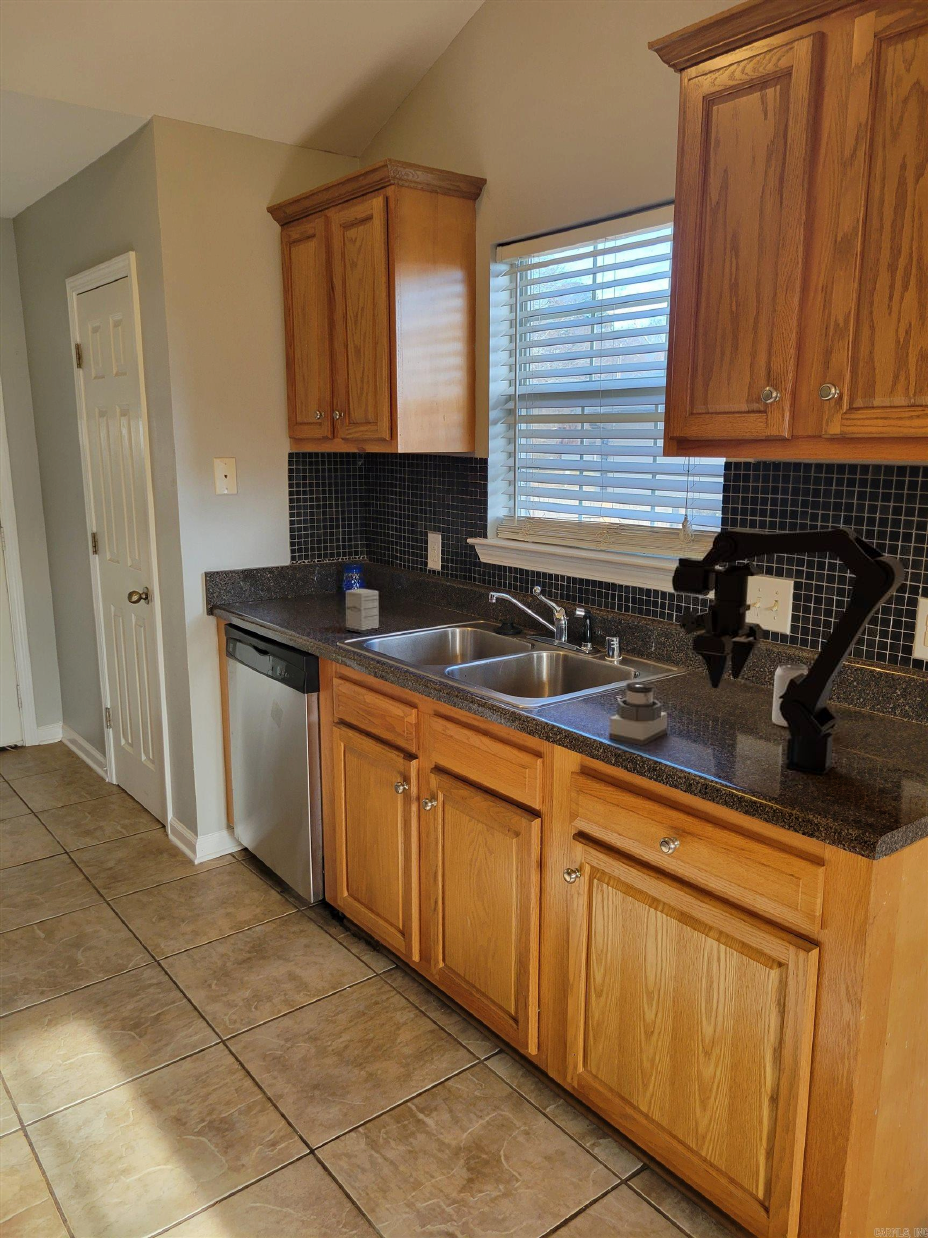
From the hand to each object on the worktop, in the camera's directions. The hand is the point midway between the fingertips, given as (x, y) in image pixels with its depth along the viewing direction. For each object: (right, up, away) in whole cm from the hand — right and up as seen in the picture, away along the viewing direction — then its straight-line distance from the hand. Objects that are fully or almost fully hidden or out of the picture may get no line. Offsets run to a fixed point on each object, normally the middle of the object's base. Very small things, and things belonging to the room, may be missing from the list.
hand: (725, 683), depth 167 cm
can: (+18, -10, +18) cm, 27 cm away
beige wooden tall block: (-79, +8, +113) cm, 138 cm away
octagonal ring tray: (-14, -11, +10) cm, 20 cm away
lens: (-14, -7, +9) cm, 18 cm away
